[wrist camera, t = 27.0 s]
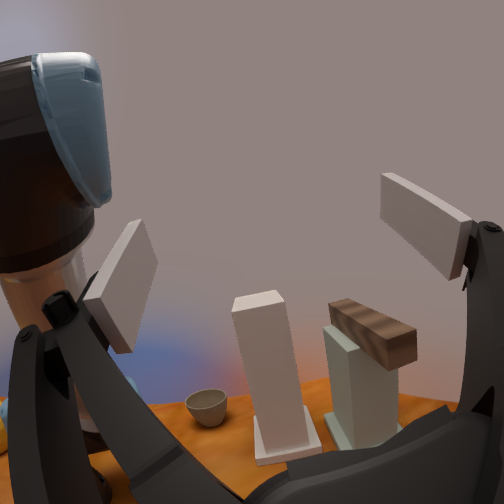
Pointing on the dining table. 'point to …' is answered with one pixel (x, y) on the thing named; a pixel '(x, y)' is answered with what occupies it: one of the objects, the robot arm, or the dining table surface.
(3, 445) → the vase
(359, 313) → the walnut beam
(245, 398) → the dining table surface
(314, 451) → the tall stand
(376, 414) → the post
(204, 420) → the beige round bowl
